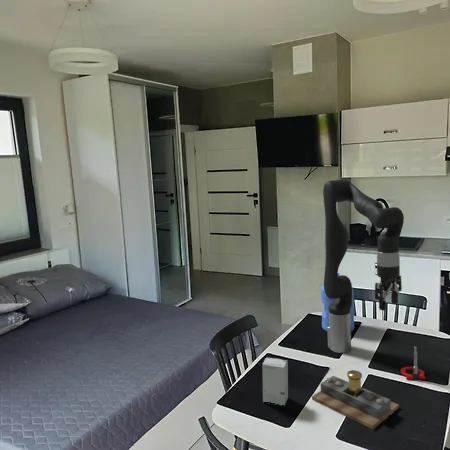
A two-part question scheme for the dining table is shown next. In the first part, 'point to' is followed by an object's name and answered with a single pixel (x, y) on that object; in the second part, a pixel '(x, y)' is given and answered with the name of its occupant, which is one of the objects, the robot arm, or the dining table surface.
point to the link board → (354, 402)
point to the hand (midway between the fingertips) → (388, 306)
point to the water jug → (326, 309)
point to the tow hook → (414, 370)
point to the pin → (354, 382)
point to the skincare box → (275, 381)
